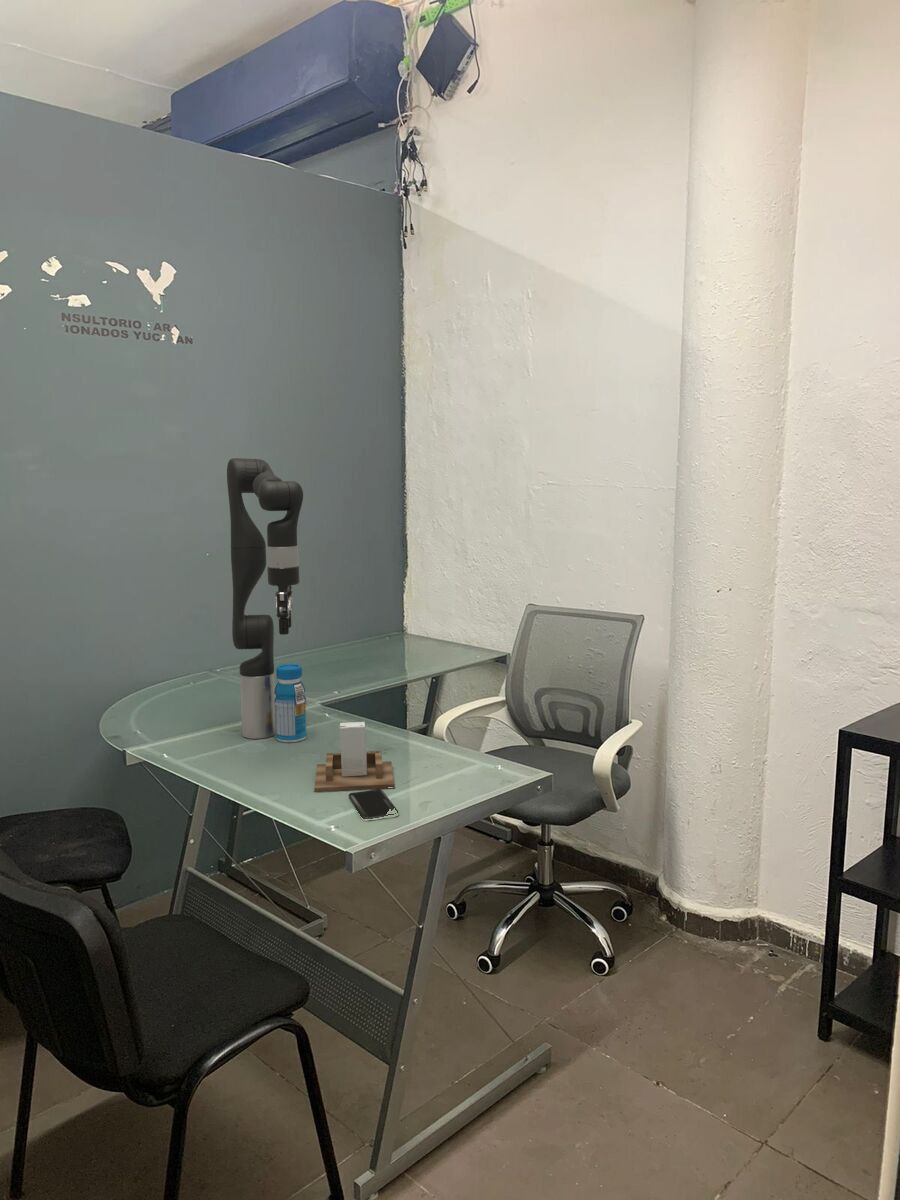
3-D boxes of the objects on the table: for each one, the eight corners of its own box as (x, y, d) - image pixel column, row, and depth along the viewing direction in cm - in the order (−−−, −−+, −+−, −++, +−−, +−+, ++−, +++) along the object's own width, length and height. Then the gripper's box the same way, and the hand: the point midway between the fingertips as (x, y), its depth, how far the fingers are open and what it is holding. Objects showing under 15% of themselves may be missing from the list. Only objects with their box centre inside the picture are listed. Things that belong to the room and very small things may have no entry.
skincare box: (367, 770, 206) (366, 720, 204) (367, 776, 201) (366, 726, 200) (341, 771, 205) (339, 721, 203) (340, 777, 201) (339, 727, 199)
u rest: (317, 768, 210) (316, 750, 210) (391, 765, 212) (391, 747, 212) (314, 792, 195) (313, 772, 194) (394, 788, 197) (394, 769, 196)
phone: (363, 818, 178) (347, 793, 192) (363, 823, 178) (347, 798, 192) (400, 813, 180) (381, 788, 194) (400, 818, 180) (382, 793, 195)
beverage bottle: (276, 744, 229) (274, 670, 226) (274, 735, 237) (271, 664, 234) (308, 741, 231) (306, 668, 228) (305, 732, 239) (303, 662, 236)
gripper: (270, 562, 215) (272, 626, 217) (264, 568, 201) (266, 636, 203) (300, 561, 216) (302, 625, 218) (297, 567, 202) (299, 636, 204)
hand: (285, 630), depth 211 cm, fingers open, 8 cm apart
